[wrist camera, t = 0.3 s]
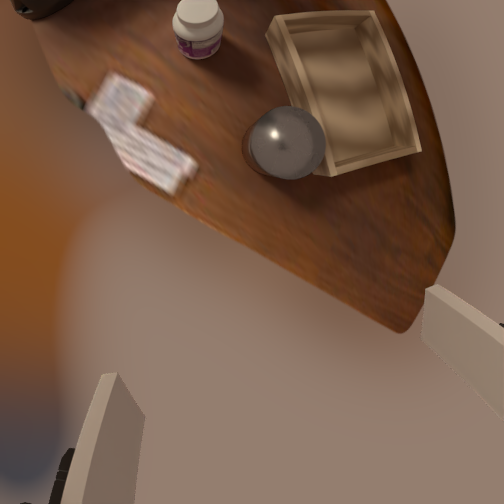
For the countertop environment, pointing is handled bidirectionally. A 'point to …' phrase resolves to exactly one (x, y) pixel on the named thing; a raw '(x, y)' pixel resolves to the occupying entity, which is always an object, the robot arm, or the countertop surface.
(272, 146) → the tin can
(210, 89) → the countertop surface
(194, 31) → the pill bottle
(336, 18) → the caddy
